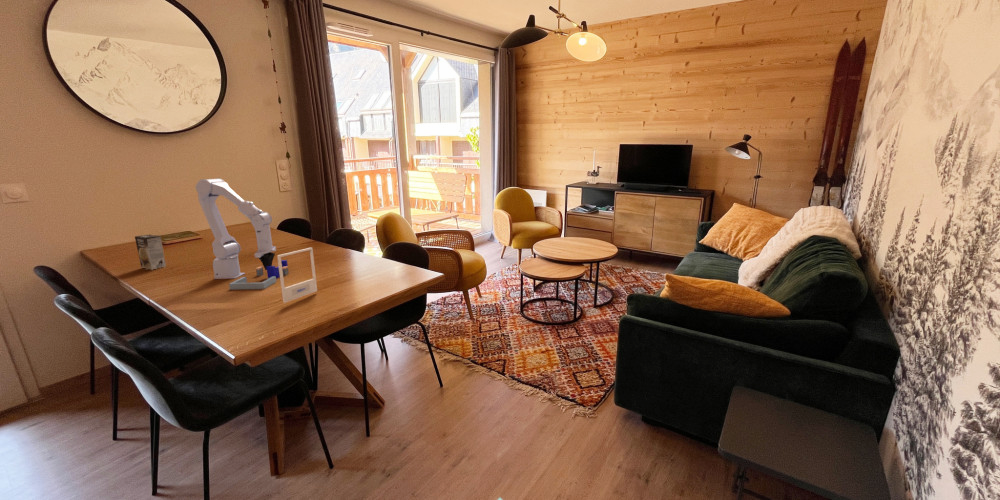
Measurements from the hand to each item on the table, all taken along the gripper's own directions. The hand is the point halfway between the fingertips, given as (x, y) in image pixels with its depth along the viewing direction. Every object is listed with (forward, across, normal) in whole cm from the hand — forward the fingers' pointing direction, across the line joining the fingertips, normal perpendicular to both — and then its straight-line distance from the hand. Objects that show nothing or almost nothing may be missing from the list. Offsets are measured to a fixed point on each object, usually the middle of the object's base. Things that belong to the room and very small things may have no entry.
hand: (268, 269), depth 181 cm
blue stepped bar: (+4, +2, -2) cm, 5 cm away
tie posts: (+3, +3, 0) cm, 5 cm away
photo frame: (+4, -28, -26) cm, 39 cm away
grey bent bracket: (+3, -13, 0) cm, 13 cm away
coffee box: (+4, +19, +65) cm, 68 cm away
